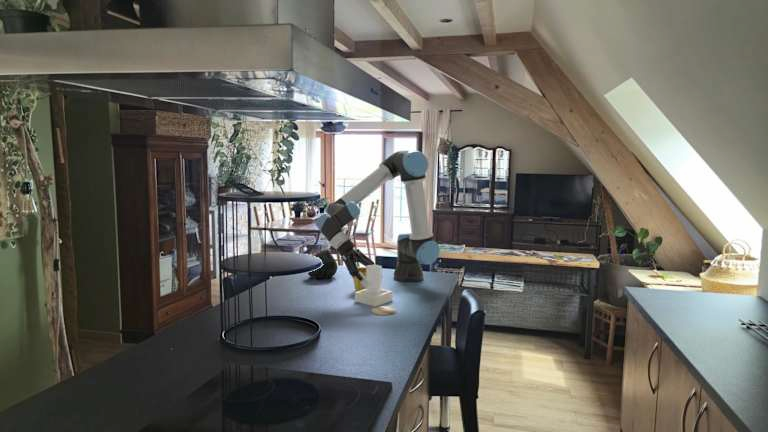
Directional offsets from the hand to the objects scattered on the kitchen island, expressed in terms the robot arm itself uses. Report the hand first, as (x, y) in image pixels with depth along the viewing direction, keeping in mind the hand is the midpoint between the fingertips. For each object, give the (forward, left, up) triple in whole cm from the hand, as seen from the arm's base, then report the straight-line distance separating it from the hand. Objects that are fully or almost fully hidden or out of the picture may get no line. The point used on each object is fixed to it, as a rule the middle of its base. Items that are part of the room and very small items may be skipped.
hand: (374, 282), depth 214 cm
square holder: (0, -1, -8) cm, 8 cm away
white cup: (0, -1, -8) cm, 9 cm away
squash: (-17, -47, -9) cm, 50 cm away
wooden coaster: (+9, +11, -8) cm, 17 cm away
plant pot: (-10, -15, -8) cm, 20 cm away
